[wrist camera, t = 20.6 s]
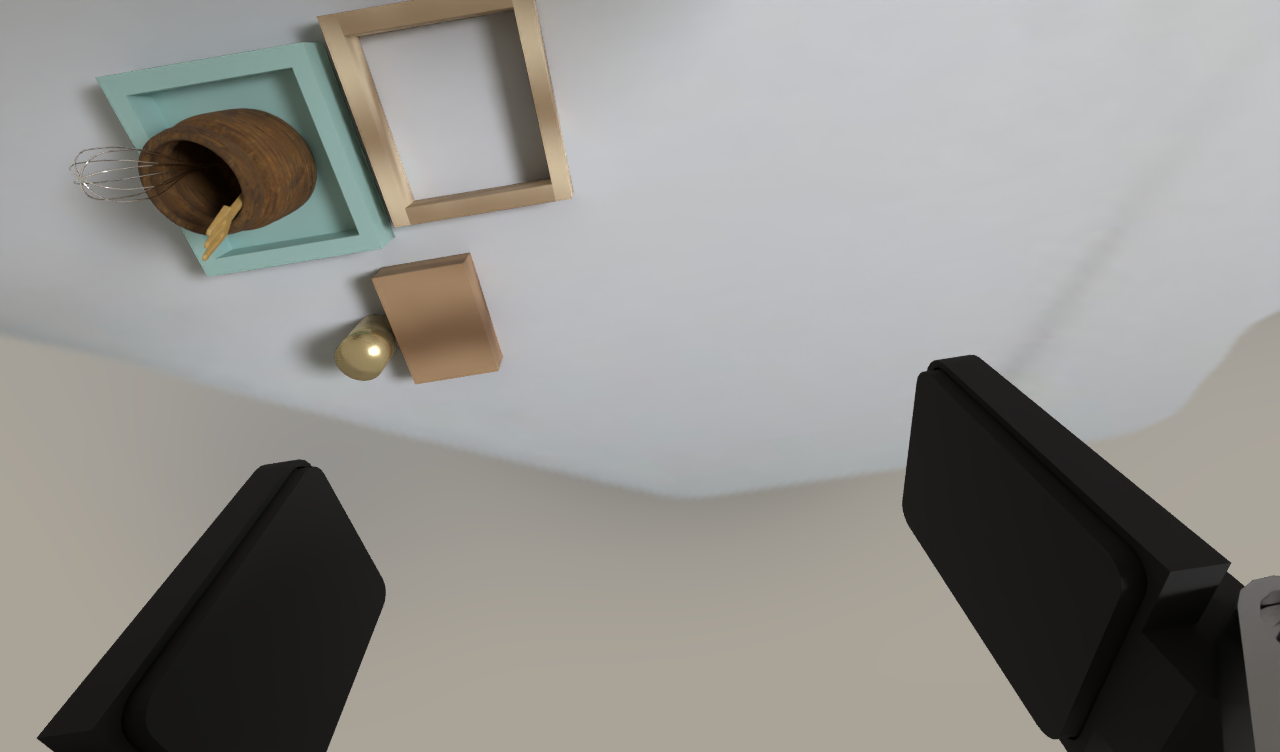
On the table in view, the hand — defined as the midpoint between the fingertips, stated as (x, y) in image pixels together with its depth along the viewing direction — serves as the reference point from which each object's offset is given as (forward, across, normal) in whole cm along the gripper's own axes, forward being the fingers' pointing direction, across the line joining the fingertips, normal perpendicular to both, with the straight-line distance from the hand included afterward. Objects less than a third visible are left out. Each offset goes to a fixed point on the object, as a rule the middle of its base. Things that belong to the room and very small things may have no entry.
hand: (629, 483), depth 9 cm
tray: (+30, +20, -3) cm, 36 cm away
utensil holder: (+30, +20, -3) cm, 36 cm away
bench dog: (+30, +18, +9) cm, 36 cm away
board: (+31, +13, +8) cm, 34 cm away
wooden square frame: (+30, +8, -4) cm, 32 cm away
